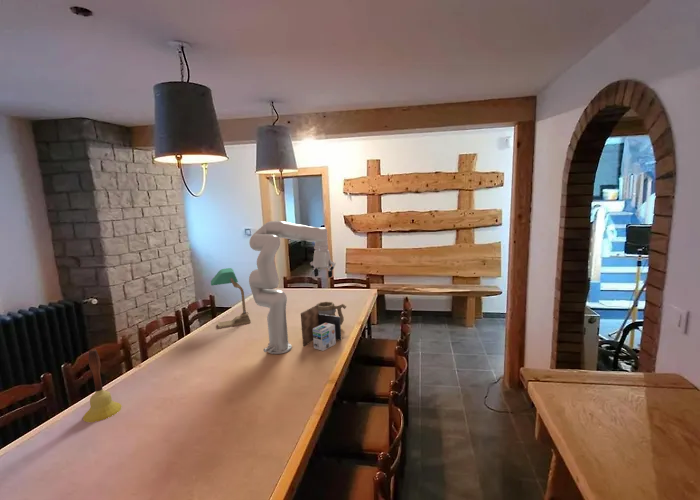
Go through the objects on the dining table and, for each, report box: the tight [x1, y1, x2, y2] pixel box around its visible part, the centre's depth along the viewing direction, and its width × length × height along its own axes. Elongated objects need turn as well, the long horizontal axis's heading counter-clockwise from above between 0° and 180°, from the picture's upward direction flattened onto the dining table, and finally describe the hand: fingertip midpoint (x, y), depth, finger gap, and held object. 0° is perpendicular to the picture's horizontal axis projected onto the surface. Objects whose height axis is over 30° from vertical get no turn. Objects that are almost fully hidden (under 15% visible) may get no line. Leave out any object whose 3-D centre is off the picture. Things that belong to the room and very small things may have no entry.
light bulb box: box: [312, 323, 337, 352], centre depth 186 cm, size 11×7×11 cm, turn 143°
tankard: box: [316, 301, 347, 326], centre depth 213 cm, size 20×13×15 cm, turn 62°
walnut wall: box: [300, 304, 319, 347], centre depth 194 cm, size 15×1×18 cm, turn 151°
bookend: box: [318, 314, 342, 341], centre depth 196 cm, size 1×14×13 cm, turn 61°
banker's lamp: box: [210, 267, 252, 329], centre depth 226 cm, size 16×21×35 cm
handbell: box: [82, 349, 123, 423], centre depth 135 cm, size 12×12×25 cm
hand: (323, 276), depth 216 cm, fingers open, 9 cm apart
